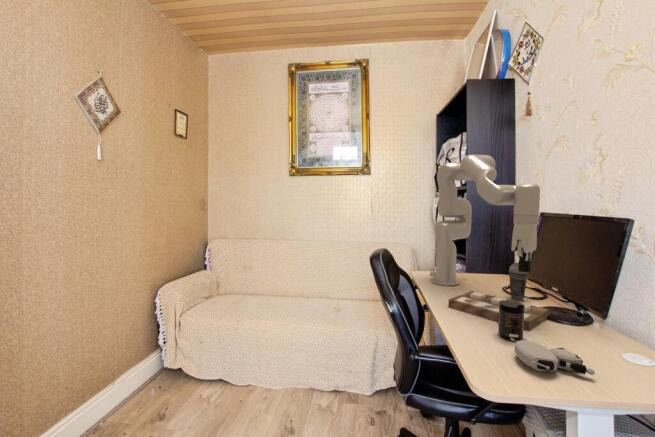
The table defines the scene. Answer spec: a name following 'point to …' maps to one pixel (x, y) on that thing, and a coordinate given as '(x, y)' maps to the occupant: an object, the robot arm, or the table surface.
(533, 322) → the button board
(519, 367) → the table surface
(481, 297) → the button
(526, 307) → the button
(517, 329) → the supplement container
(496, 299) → the middle button
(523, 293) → the beverage cup
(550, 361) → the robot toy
